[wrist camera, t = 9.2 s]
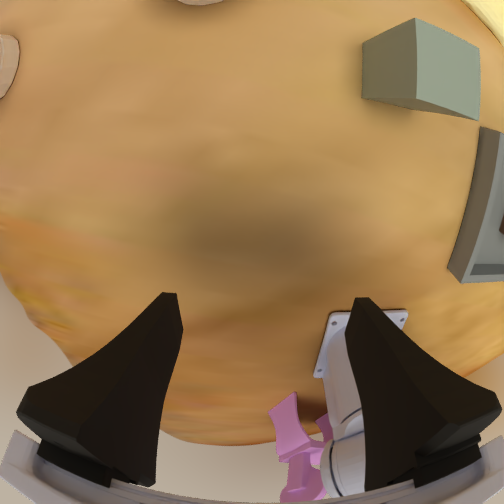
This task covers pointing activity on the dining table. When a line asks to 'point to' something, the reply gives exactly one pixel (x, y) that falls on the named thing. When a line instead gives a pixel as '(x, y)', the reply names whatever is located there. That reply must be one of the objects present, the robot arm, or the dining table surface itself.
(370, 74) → the tall block
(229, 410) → the dining table surface
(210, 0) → the shot glass
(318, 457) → the toy chair
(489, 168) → the tray
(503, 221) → the short block
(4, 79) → the white cup
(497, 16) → the cloth
